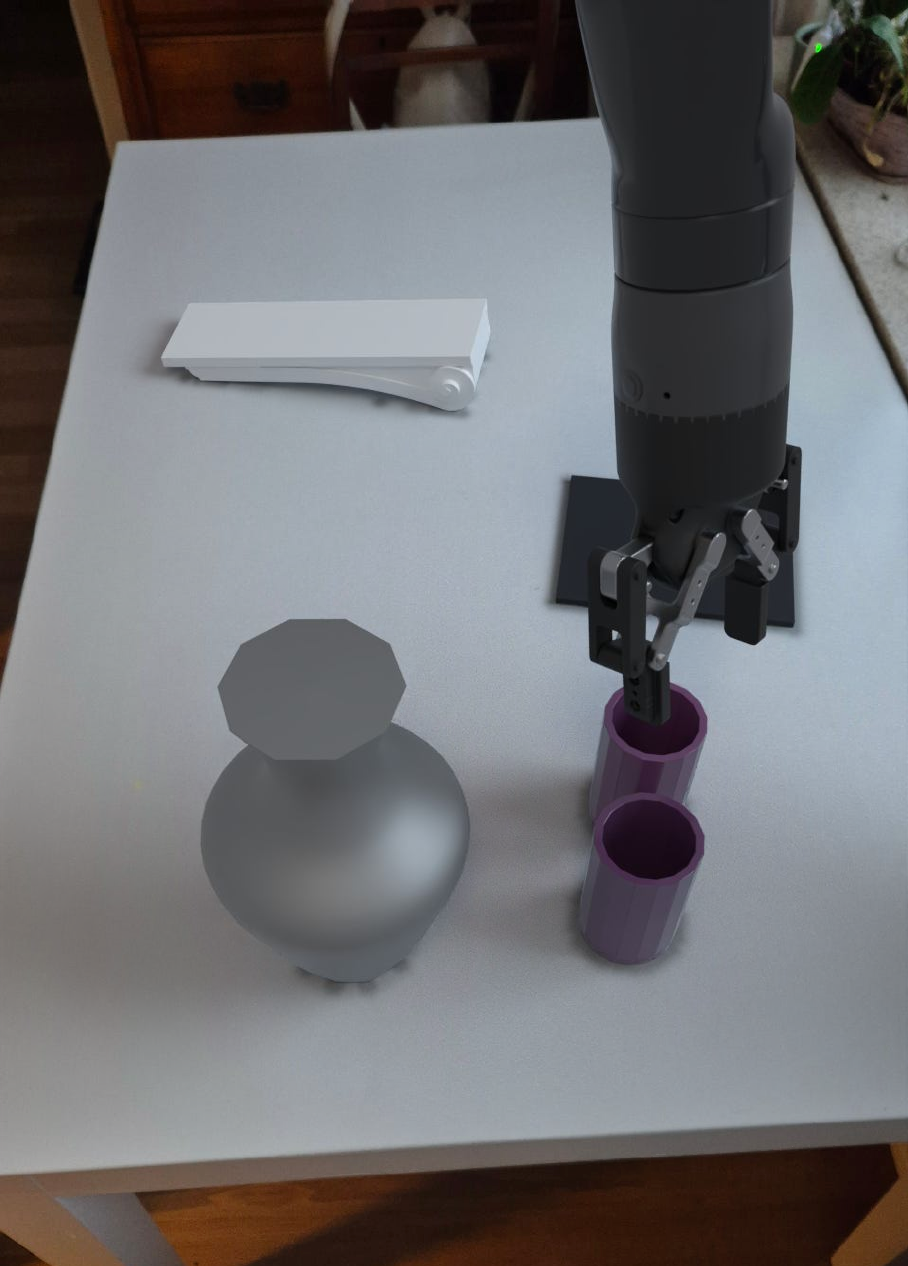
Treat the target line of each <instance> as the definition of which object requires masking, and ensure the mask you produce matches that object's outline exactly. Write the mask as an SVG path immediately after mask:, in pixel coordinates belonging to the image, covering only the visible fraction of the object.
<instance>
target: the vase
mask: <svg viewBox="0 0 908 1266" xmlns="http://www.w3.org/2000/svg"><path fill="white" fill-rule="evenodd" d="M225 670H226V671H225V672H224V674H223V675H222V677H221V679H220V681H219V683H218V685H217V691H218V694H219V698H220V702H221V705H222V709H223V713H224V716H225V719H226V724H227V727H228V731H229V732H230V733H231V734H233V735H234V736H235V737H237V738H238V739H239V740H240V741H242V742H243V743H244V744H246V746H245V747H244V748H242V750H240V751H239V752H238V753H236V755H235V756H234V757H233V758H232V760H231V761H230V762H229V763H228V764H227V765H226V766H225V767H224V769H223V770H222V772H221V773H220V775H218V778H217V780H216V781H215V783H214V784H213V786H212V787H211V790H210V793H209V795H208V797H207V800H206V802H205V803H204V809H203V813H202V817H201V821H200V822H201V823H200V842H199V843H200V852H201V859H202V864H203V868H204V870H205V873H206V876H207V879H208V883H209V885H210V886H211V887H210V888H212V890H213V892H214V894H215V895H216V897H217V899H218V900H219V902H220V904H221V906H222V907H223V908H224V910H226V911H227V912H228V913H229V915H230V916H231V917H232V918H233V919H234V920H235V921H236V923H237V924H238V925H239V926H240V927H242V928H243V929H244V930H245V931H246V932H248V933H249V934H250V935H251V936H253V937H254V938H255V939H256V940H257V941H259V942H260V943H261V944H263V945H264V946H265V947H267V948H269V949H270V950H271V951H273V952H274V953H276V954H277V955H279V956H280V957H282V958H283V959H284V960H287V961H288V962H290V963H291V964H293V965H295V966H297V967H298V968H301V970H304V971H306V972H308V973H311V974H313V975H315V976H318V977H320V978H323V979H327V980H331V981H332V982H334V983H370V982H371V981H373V980H374V979H376V978H377V977H379V976H380V975H382V974H383V973H385V972H387V971H389V970H391V969H392V968H393V967H394V966H396V965H397V964H398V963H399V962H401V961H402V960H403V959H405V957H407V955H408V954H410V952H411V951H412V950H413V949H414V948H415V947H417V945H418V944H419V943H420V942H421V940H422V939H423V938H424V937H425V935H426V934H427V932H428V931H429V929H430V928H431V927H432V925H433V924H434V923H435V921H436V919H437V918H438V916H439V915H440V914H441V912H442V910H444V908H445V907H446V905H447V904H448V902H449V901H450V899H451V897H452V895H453V893H454V891H455V888H456V886H457V885H458V883H459V880H460V879H461V876H462V874H463V870H464V868H465V864H466V860H467V858H468V857H467V856H468V853H469V848H470V836H471V821H470V812H469V811H470V810H469V806H468V803H467V799H466V796H465V793H464V790H463V788H462V785H461V783H460V781H459V779H458V777H457V775H456V773H455V772H454V770H453V769H452V767H451V766H450V764H449V763H448V761H447V760H446V759H445V757H444V756H443V755H442V754H441V753H440V752H439V751H438V750H436V748H434V747H433V746H432V745H431V744H430V743H428V742H427V741H426V740H424V739H423V738H421V737H420V736H418V734H416V733H414V732H413V731H412V730H409V729H407V728H405V727H404V726H401V725H399V724H397V723H395V722H392V720H393V718H394V716H395V713H396V711H397V709H398V707H399V704H400V702H401V699H402V697H403V695H404V693H405V691H406V688H407V684H406V681H405V678H404V675H403V673H402V671H401V668H400V665H399V663H398V660H397V658H396V655H395V653H394V651H393V648H392V645H391V643H389V642H388V641H386V640H384V639H382V638H381V637H379V636H377V635H376V634H374V633H371V632H370V631H368V630H366V629H365V628H362V627H361V626H360V625H358V624H356V623H354V622H352V621H350V620H348V619H347V618H289V619H286V620H285V621H283V622H281V623H278V624H277V625H275V626H273V627H271V628H269V629H268V630H266V631H264V632H262V633H260V634H258V635H256V636H254V637H252V638H250V639H249V640H247V641H245V642H243V643H241V644H240V645H239V647H238V649H237V650H236V652H235V654H234V656H233V658H232V659H231V662H229V665H228V667H227V668H226V669H225Z"/></svg>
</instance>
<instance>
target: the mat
mask: <svg viewBox="0 0 908 1266" xmlns="http://www.w3.org/2000/svg"><path fill="white" fill-rule="evenodd" d="M566 508H567V509H566V514H565V515H566V516H565V523H564V531H563V532H564V533H563V539H562V547H561V555H560V564H559V570H558V571H559V573H558V580H557V588H556V597H555V603H556V604H560V605H569V606H571V605H572V606H579V607H588V584H587V561H588V557H589V555H590V553H591V551H592V550H593V549H594V548H596V547H602V548H605V549H608V550H611V551H616V550H618V549H619V548H621V547H623V546H624V545H626V544H627V543H629V542H631V535H632V531H633V528H634V523H635V518H636V506H635V503H634V501H633V500H632V498H631V496H630V495H629V493H628V491H627V490H626V489H625V487H624V486H623V485H622V483H621V481H620V479H617V478H607V477H598V476H586V475H575V474H572V475H571V476H570V483H569V491H568V500H567V507H566ZM767 524H770V525H773V526H777V527H779V517H778V515H777V514H775V513H773V512H769V511H767ZM778 559H779V568H778V571H777V573H776V575H775V577H774V578H773V579H772V580H769V596H768V606H767V607H768V614H767V625H766V626H775V627H784V628H794V627H795V623H796V612H795V610H796V609H795V578H794V575H795V574H794V573H795V572H794V552H793V553H792V554H786V553H782V554H781V555H780V557H779V558H778ZM732 571H734V569H732V570H730V571H729V572H728V573H727V574H725V575H722V576H720V577H717V578H716V579H715V580H714V581H713V582H712V583H711V585H710V586H709V587H708V588H707V589H706V590H705V591H704V592H703V593H702V596H701V599H700V601H699V604H698V607H697V609H696V612H695V615H694V617H693V618H696V619H705V620H706V619H707V620H716V621H724V606H725V576H727V575H728V574H729V573H730V572H732ZM650 582H651V583H652V588H651V590H650V591H649V595H650V596H651V597H652V598H654V599H657V600H660V601H662V602H665V603H668V604H669V603H672V602H674V601H675V600H676V599H677V597H678V594H679V592H676V591H673V590H670V589H667V588H664V587H662V586H660V585H659V584H658V583H657V582H656V581H655V580H654V578H653V577H652V579H651V581H650Z"/></svg>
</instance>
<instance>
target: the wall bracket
mask: <svg viewBox="0 0 908 1266" xmlns="http://www.w3.org/2000/svg"><path fill="white" fill-rule="evenodd" d="M488 309H489V308H488V299H487V298H486V297H485V298H484V297H483V298H429V299H427V298H426V299H424V298H423V299H422V298H421V299H366V300H365V299H363V300H360V299H359V300H302V301H300V300H299V301H298V300H297V301H237V302H236V301H235V302H234V301H232V302H230V301H229V302H189V303H188V305H187V307H186V308H185V310H184V312H183V314H182V316H181V318H180V320H179V322H178V324H177V326H176V327H175V329H174V331H173V334H171V336H170V339H169V341H168V342H167V344H166V347H165V349H164V350H163V353H162V354H161V357H160V361H161V363H162V365H163V368H185V370H188V371H189V373H190V374H191V375H192V376H194V377H196V378H198V379H199V381H203V382H204V381H207V382H208V381H209V382H253V383H254V382H260V383H308V384H309V383H310V384H326V385H335V386H342V387H343V386H344V387H351V388H357V389H364V390H371V391H375V392H380V393H384V394H390V395H393V396H398V397H402V398H406V399H409V400H413V401H415V402H416V401H417V402H419V403H422V404H425V405H429V406H433V407H435V408H438V409H440V410H444V411H448V412H454V411H455V412H456V411H459V410H462V409H465V408H466V407H468V406H469V405H470V404H471V402H472V401H473V399H474V397H475V391H476V389H477V385H478V382H479V377H480V374H481V370H482V366H483V363H484V359H485V356H486V353H487V349H488V345H489V341H490V337H491V325H490V321H489V314H488Z"/></svg>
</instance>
